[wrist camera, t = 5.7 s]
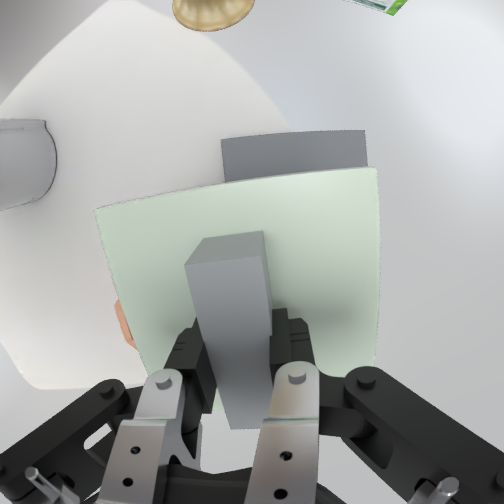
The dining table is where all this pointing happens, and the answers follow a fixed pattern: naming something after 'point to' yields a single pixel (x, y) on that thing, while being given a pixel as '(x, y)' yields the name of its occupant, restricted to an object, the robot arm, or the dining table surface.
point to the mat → (292, 153)
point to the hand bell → (210, 13)
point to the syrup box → (381, 5)
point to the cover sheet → (298, 252)
